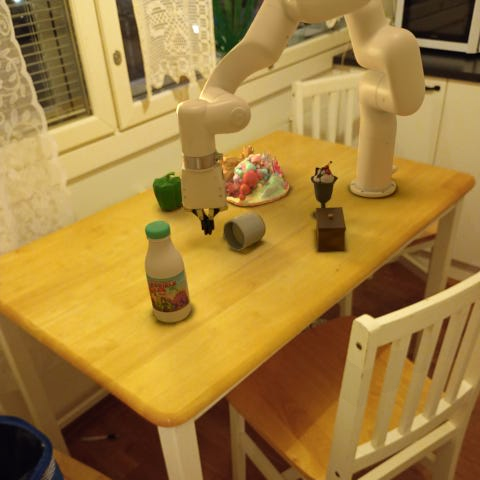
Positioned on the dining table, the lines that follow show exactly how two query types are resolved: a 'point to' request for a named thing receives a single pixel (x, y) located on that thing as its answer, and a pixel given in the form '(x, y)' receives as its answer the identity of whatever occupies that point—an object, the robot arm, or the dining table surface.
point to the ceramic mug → (244, 230)
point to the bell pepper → (168, 191)
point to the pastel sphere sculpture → (253, 178)
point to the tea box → (330, 229)
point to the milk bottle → (166, 275)
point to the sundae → (323, 184)
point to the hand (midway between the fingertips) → (208, 232)
